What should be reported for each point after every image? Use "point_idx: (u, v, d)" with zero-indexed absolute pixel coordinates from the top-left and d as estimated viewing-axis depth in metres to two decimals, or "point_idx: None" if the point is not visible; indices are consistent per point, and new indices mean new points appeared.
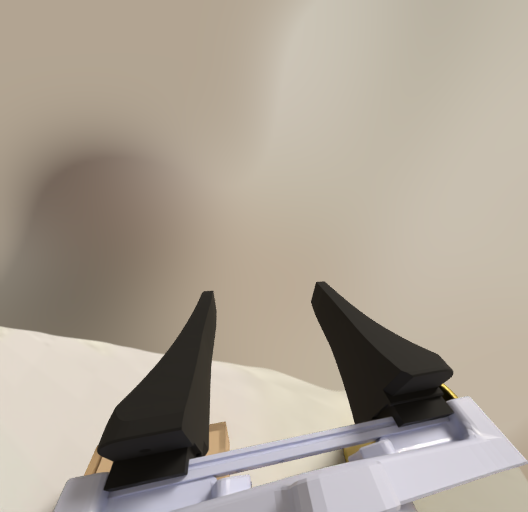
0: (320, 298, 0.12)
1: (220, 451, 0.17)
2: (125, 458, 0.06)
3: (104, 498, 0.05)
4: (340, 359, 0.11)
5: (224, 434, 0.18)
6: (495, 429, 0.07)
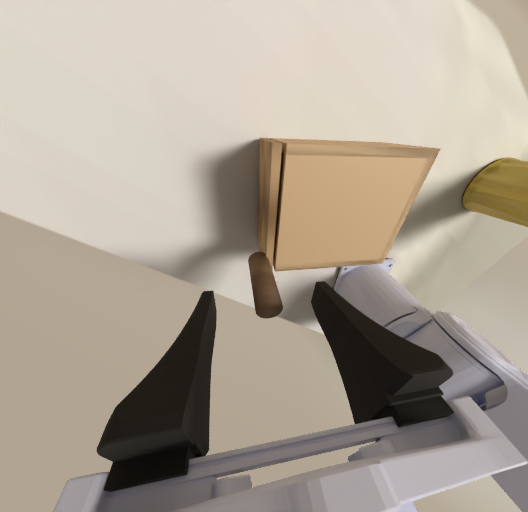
0: (320, 298, 0.12)
1: (419, 181, 0.14)
2: (125, 458, 0.06)
3: (104, 498, 0.05)
4: (340, 359, 0.11)
5: (430, 164, 0.14)
6: (495, 429, 0.07)
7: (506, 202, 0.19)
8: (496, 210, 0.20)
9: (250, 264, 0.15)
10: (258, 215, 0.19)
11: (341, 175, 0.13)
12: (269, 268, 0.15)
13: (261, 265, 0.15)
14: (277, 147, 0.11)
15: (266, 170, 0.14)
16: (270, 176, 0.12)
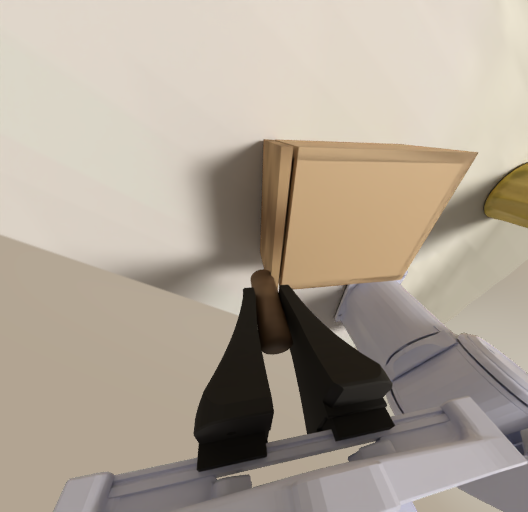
0: (282, 302, 0.12)
1: (449, 190, 0.12)
2: (212, 441, 0.06)
3: (104, 498, 0.05)
4: (296, 366, 0.10)
5: (465, 170, 0.12)
6: (494, 429, 0.07)
7: None
8: (525, 219, 0.18)
9: (253, 284, 0.13)
10: (261, 225, 0.17)
11: (361, 184, 0.11)
12: (275, 290, 0.13)
13: (266, 287, 0.13)
14: (287, 151, 0.09)
15: (272, 177, 0.12)
16: (278, 185, 0.10)
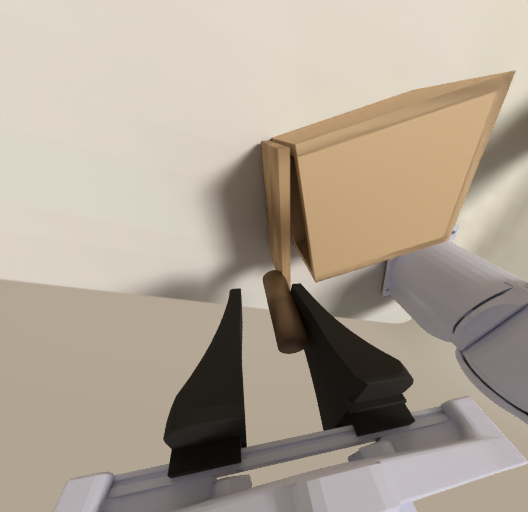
0: (295, 300, 0.12)
1: (486, 126, 0.10)
2: (184, 446, 0.06)
3: (104, 498, 0.05)
4: (311, 363, 0.11)
5: (502, 97, 0.10)
6: (495, 429, 0.07)
7: None
8: None
9: (265, 286, 0.14)
10: (268, 226, 0.17)
11: (372, 157, 0.10)
12: (287, 290, 0.13)
13: (278, 287, 0.13)
14: (284, 153, 0.09)
15: (273, 179, 0.12)
16: (279, 187, 0.10)
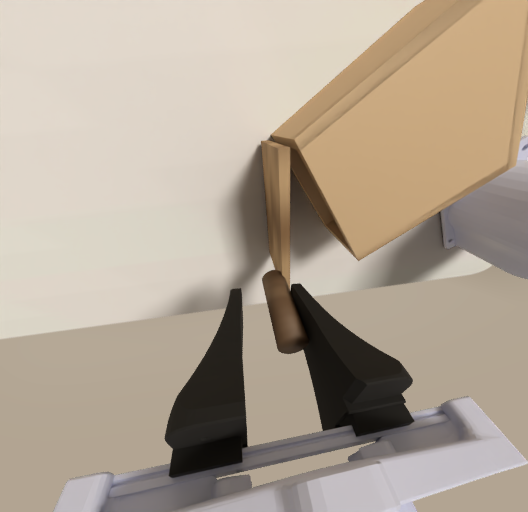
0: (294, 301, 0.12)
1: None
2: (185, 446, 0.06)
3: (104, 498, 0.05)
4: (311, 363, 0.11)
5: None
6: (495, 429, 0.07)
7: None
8: None
9: (265, 286, 0.14)
10: (268, 226, 0.17)
11: (382, 115, 0.09)
12: (287, 290, 0.13)
13: (277, 287, 0.13)
14: (284, 153, 0.09)
15: (273, 179, 0.12)
16: (279, 187, 0.10)
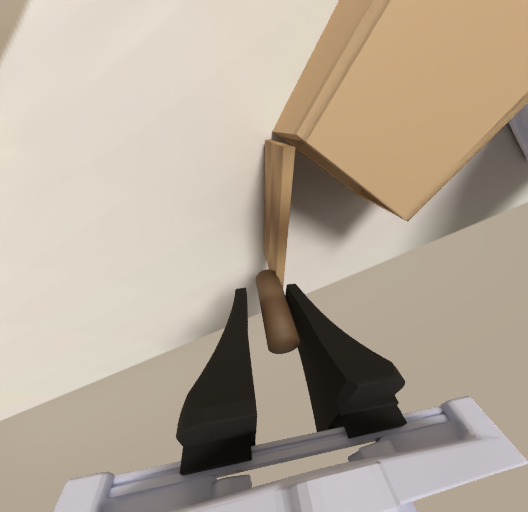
0: (290, 301, 0.12)
1: None
2: (196, 444, 0.06)
3: (104, 498, 0.05)
4: (305, 364, 0.10)
5: None
6: (495, 429, 0.07)
7: None
8: None
9: (258, 285, 0.14)
10: (265, 225, 0.17)
11: (384, 61, 0.08)
12: (281, 290, 0.13)
13: (271, 286, 0.13)
14: (289, 152, 0.09)
15: (275, 178, 0.12)
16: (280, 186, 0.10)
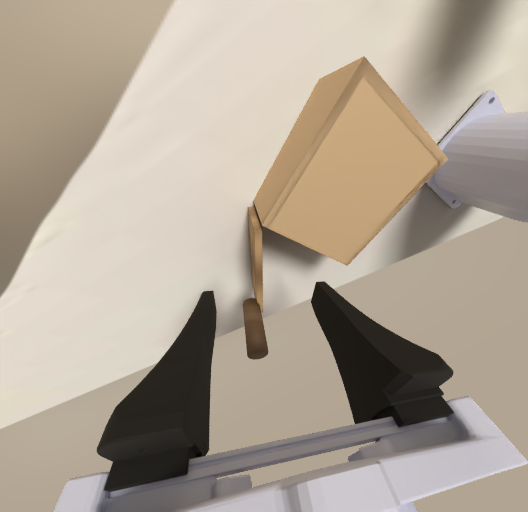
0: (320, 298, 0.12)
1: (382, 93, 0.11)
2: (125, 458, 0.06)
3: (104, 498, 0.05)
4: (340, 359, 0.11)
5: (374, 72, 0.10)
6: (495, 429, 0.07)
7: None
8: None
9: (244, 310, 0.19)
10: (251, 261, 0.23)
11: (310, 189, 0.14)
12: (259, 315, 0.18)
13: (252, 312, 0.18)
14: (258, 234, 0.15)
15: (253, 241, 0.17)
16: (255, 251, 0.16)
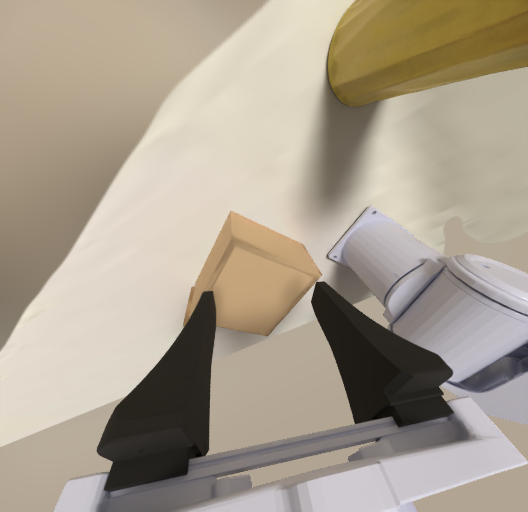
0: (320, 298, 0.12)
1: (252, 251, 0.16)
2: (125, 458, 0.06)
3: (104, 498, 0.05)
4: (340, 359, 0.11)
5: (242, 243, 0.15)
6: (495, 429, 0.07)
7: (377, 92, 0.13)
8: None
9: None
10: None
11: (218, 299, 0.19)
12: None
13: None
14: None
15: None
16: None
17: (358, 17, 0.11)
